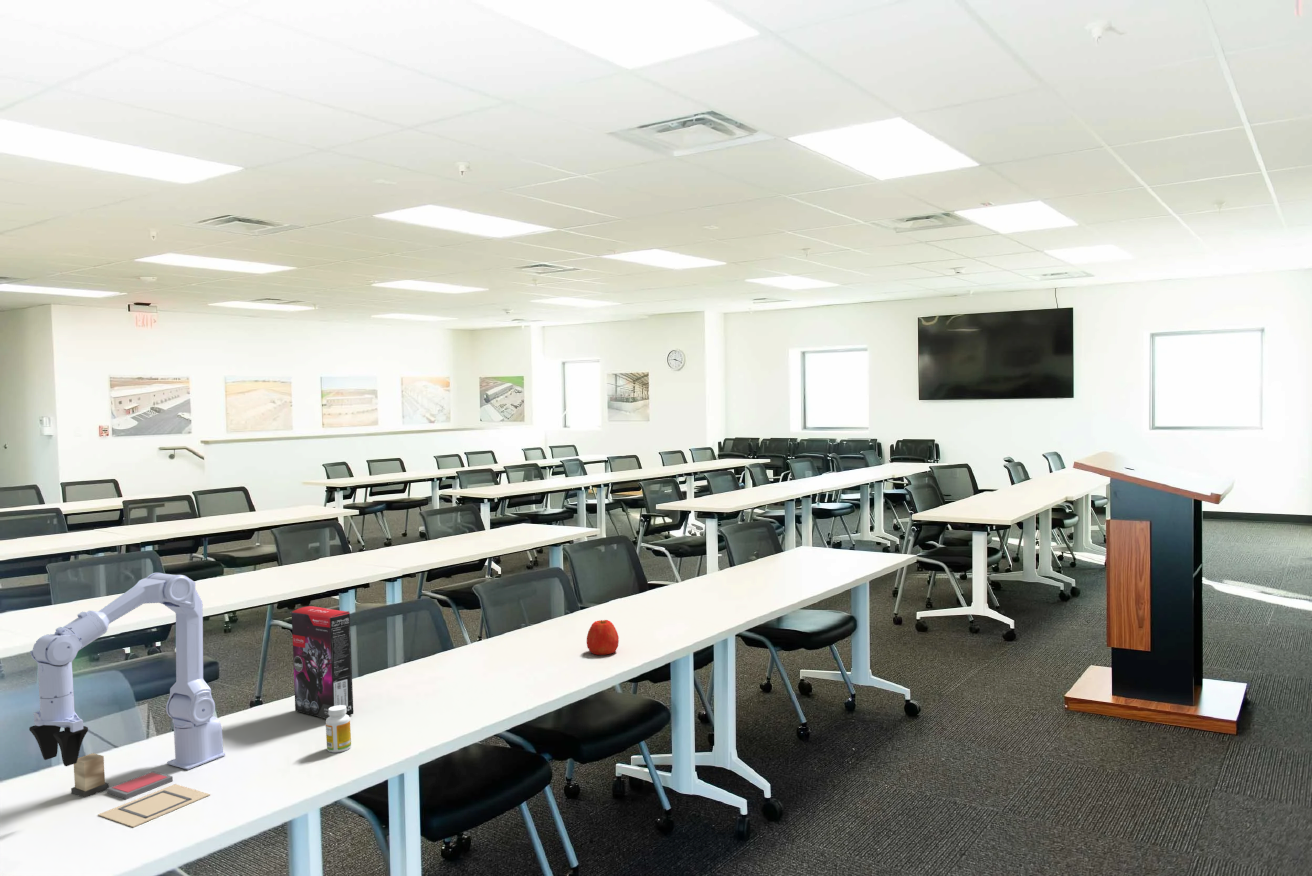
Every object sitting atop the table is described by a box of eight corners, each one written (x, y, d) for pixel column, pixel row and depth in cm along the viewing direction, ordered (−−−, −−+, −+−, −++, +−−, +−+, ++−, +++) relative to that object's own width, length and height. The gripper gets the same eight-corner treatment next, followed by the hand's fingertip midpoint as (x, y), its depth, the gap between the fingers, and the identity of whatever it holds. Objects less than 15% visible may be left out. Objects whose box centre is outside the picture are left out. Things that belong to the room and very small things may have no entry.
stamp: (95, 784, 195) (94, 751, 194) (109, 788, 192) (107, 755, 192) (71, 793, 190) (69, 760, 190) (84, 798, 188) (82, 764, 187)
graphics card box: (293, 712, 239) (288, 609, 238) (315, 704, 244) (311, 604, 244) (333, 722, 229) (329, 616, 228) (356, 714, 235) (352, 610, 234)
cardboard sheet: (175, 784, 193) (175, 783, 193) (210, 795, 187) (210, 793, 187) (98, 815, 179) (98, 813, 179) (133, 827, 173) (133, 826, 173)
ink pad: (153, 775, 198) (153, 770, 198) (172, 781, 195) (172, 776, 195) (107, 793, 190) (106, 788, 190) (126, 799, 186) (126, 794, 186)
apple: (606, 646, 295) (605, 614, 294) (625, 652, 287) (624, 619, 286) (580, 652, 288) (579, 620, 288) (599, 658, 280) (598, 625, 280)
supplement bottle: (354, 743, 214) (352, 703, 213) (347, 752, 208) (345, 711, 208) (331, 744, 214) (329, 704, 213) (323, 753, 208) (321, 712, 208)
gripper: (15, 695, 181) (19, 762, 182) (54, 705, 174) (58, 774, 174) (53, 685, 187) (57, 750, 188) (92, 694, 180) (96, 761, 180)
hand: (60, 761), depth 181 cm, fingers open, 7 cm apart
